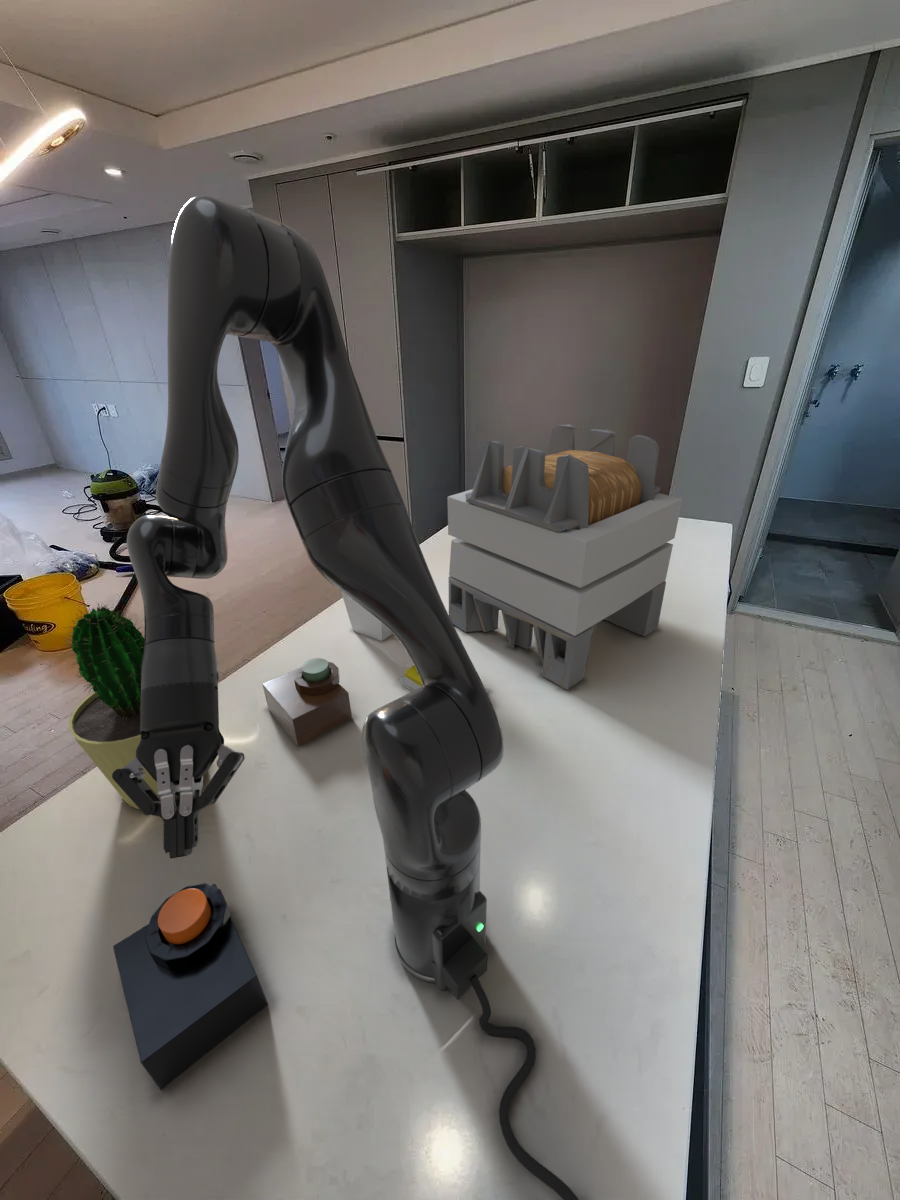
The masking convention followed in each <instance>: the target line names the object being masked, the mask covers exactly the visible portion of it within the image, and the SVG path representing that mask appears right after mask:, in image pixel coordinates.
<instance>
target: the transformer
mask: <svg viewBox="0 0 900 1200" xmlns="http://www.w3.org/2000/svg"><path fill="white" fill-rule="evenodd" d="M575 430H577V427H576V426H575V425H572V424H571V423H567V424H566V423H565V424H557V426H555V427H554V428H553V429H552V430H551V433H550V437H549V438H550V439H549V445H548V449H547V450H548V452H547V455H546V453H545V451H544V450H541V449H536V448H532V447H531V448H530V447H527V446H522V445H521V446H516V447H514V448H513V450H512V465H507V466H504V461H505V459H504V457H505V445H504V443H503V442H502V441H499V440H490V441H482V442H481V443H480V444H479V445H478V448H477V460H476V461H477V464H476V465H477V466H476V475H477V476H476V480H475V482H474V485H473V488H471V489H469V490H465V491H462V492H458V493H455V494H452V495H449V496H447V497H446V498H447V535H449V536H451V537H453V539H452V540H451V542H450V556H449V571H448V615H449V617H450V619H451V621H452V623H453V625H454V627H457V628H458V629H460V630H461V631H463V632H464V633H469V632H470V633H471V632H483V633H488V632H491V631H496V630H497V629H498V628H499V614H500V613H499V612H500V611H501V615H502V620H503V624H504V627H505V637H506V639H507V640H508V644H509V647H510V648H515V645H517V646H519V647H521V648H523V649H526V650H527V649H529V648H531V647H532V645H533V632H534V638H535V642H536V643H535V644H536V647H537V653H538V658H539V664H541V665H542V670H541V677H543V678H545V679H547V680H548V681H550V682H552V683H554V684H555V685H558V686H559V687H560V688H562V689H563V690H567V691H568V690H571V689H573V688H574V685H576V684H578V683H580V682H582V681H583V680H584V679H585V678H584V677H585V673H586V666H587V662H588V657H589V652H590V647H591V641H592V637H593V632H594V627H593V626H594V625H596V624H598V623H600V622H601V621H603V620H604V621H607V622H609V623H612V624H614V625H616V626H619V627H621V628H623V629H625V630H628V631H630V632H632V633H634V634H637V635H639V636H641V637H646V636H647V635H650V634H651V633H652V632H654V631H656V630H659V629H658V628H659V624H660V618H661V613H662V607H663V603H664V602H663V601H664V596H665V590H666V584H667V581H666V580H667V575H668V570H669V566H670V561H671V557H672V551H673V547H674V543H670V541H672V540H673V539H675V538H676V533H677V528H678V523H679V519H680V515H681V509H682V503H683V498H681V497H678V496H672V495H667V494H665V493H659V492H660V491H661V487H660V486H658V485H655V481H656V480H655V479H656V474H657V473H656V472H657V467H658V460H659V455H660V446H659V443H658V442H657V440H656V439H654V438H651V437H650V436H645V435H643V434H637V435H633V436H631V437H630V438H629V442H628V449H627V454H626V460H625V459H624V458H621V457H617V456H615V444H616V443H615V442H616V437H618V433H617V432H615V431H612V430H610V429H608V428H605V429H598V428H597V429H596V428H592V429H588V430H587V432H586V439H585V446H584V450H577V449H576V444H575V443H576V441H575V439H576V438H575Z"/></svg>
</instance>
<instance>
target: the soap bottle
mask: <svg viewBox="0 0 900 1200" xmlns="http://www.w3.org/2000/svg"><path fill="white" fill-rule="evenodd" d="M340 592H341V591H340ZM341 596H342V599H343V603H344V606H345V609H346V613H347V616H348V619H349V623H350V626H351V629H352V631H354V632H355V633H359V634H361V635H364V636H367V637H370V638H372V639H374V640H378V641H379V642H383V641H384V640H386V639H387V638H388V637H390V636H391V635H393V633H392V632H391V631H390V630H389V629H388V628H387V627H386V626H385V625H384V624H383V623H382V622H381V621H379V620H378V619H377V618H376V617H374V616H373V615H372V614H371V613H369V612H368V611H367V610H365V609H364V608H363V607H361V606H360V605H358V604H357V603H356V602H354V601H353V600H352V599H350V598H349V597H348V596H346V595H345V594H344V593H342V592H341Z"/></svg>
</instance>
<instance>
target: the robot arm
mask: <svg viewBox="0 0 900 1200" xmlns="http://www.w3.org/2000/svg"><path fill="white" fill-rule="evenodd" d="M170 243H171V244H170V250H169V259H168V277H167V278H168V280H167V281H168V282H167V345H166V346H167V421H166V430H165V439H164V444H163V449H162V454H161V459H160V464H159V471H158V476H157V481H156V486H155V497H156V502H157V504H158V506H159V507H160V508H161V510H162V511H163V512H164V513H166V514H167V515H168V516H165V515H158V514H146V515H142V516H140V517H139V518H137V519H136V520H135V521H134V522H133V523H132V524H131V525H130V527H129V529H128V532H127V534H126V535H127V536H126V546H127V553H128V556H129V560H130V563H131V567H132V569H133V571H134V574H135V577H136V580H137V584H138V587H139V590H140V594H141V598H142V599H141V600H142V605H143V612H144V614H143V616H144V618H143V619H144V635H143V636H144V654H143V659H142V666H141V712H140V732H141V740H140V743H139V745H138V747H137V749H136V757H135V758H134V759H133V760H132V761H131V762H129V763H128V764H127V765H126V766H125V767H124V768H122V769H117V770H115V771H114V772H113V774H112V778H113V780H114V781H115V782H116V783H117V784H118V785H119V786H120V787H121V789H122V790H123V791H124V792H125V793H126V794H127V795H128V796H129V798H130V799H131V800H132V801H133V802H134V803H135V804H136V805H137V806H138V808H139V809H138V810H140V812H142V813H143V814H144V815H145V816H153V817H159V818H161V820H162V822H163V850H164V853H165V854H168V855H169V859H178V858H183V857H187V856H189V855H191V854H192V853H193V849H194V848H196V847H198V843H199V814H200V812H201V810H203V809H205V808H206V807H208V806H211V805H214V804H215V803H216V802H217V801H218V799H219V798H220V796H221V795H222V793H223V792H224V790H225V789H226V787H227V786H228V784H229V783H230V782H231V780H232V778H233V777H234V776H235V774H236V773H237V771H238V770H239V768H240V767H241V765H242V764H243V762H244V761H245V756H246V755H245V754H244V753H243V752H241V751H236V750H234V749H232V748H231V747H229V746H228V745H226V744H225V738H224V736H223V734H222V733H221V731H220V713H219V712H220V711H219V710H220V709H219V708H220V707H219V681H220V677H219V676H220V673H219V671H218V668H219V667H218V658H217V654H216V647H215V646H216V645H215V614H214V613H215V612H214V611H215V610H214V605H213V602H212V599H211V598H209V596H206V595H204V594H202V593H199V592H196V591H193V590H189V589H186V588H183V587H180V586H178V585H176V584H175V583H173V582H172V581H171V580H170V579H169V578H182V579H183V578H184V579H199V580H206V579H212V578H214V577H216V576H217V575H219V574H221V572H222V571H223V570H224V568H225V567H226V565H227V562H228V557H229V549H228V548H229V547H228V540H227V533H226V532H227V531H226V512H227V505H228V502H229V497H230V493H231V491H232V487H233V484H234V480H235V478H236V475H237V474H236V473H237V470H238V465H239V456H240V455H239V451H240V450H239V442H238V437H237V434H236V430H235V427H234V425H233V422H232V419H231V417H230V415H229V411H228V409H227V406H226V404H225V401H224V398H223V395H222V392H221V388H220V385H219V379H218V365H219V358H220V355H221V350H222V347H223V344H224V341H225V339H226V336H227V335H230V336H233V337H234V336H235V337H240V338H245V339H252V340H256V341H261V342H268V343H269V344H270V345H272V347H273V348H274V350H275V351H276V353H277V354H278V356H279V359H280V361H281V364H282V366H283V368H284V371H285V374H286V376H287V379H288V383H289V386H290V389H291V394H292V398H293V399H292V400H293V410H292V417H291V422H290V427H289V432H288V436H287V441H286V444H285V450H284V454H283V455H284V456H283V461H282V469H281V485H282V491H283V496H284V499H285V503H286V505H287V508H288V510H289V512H290V515H291V517H292V520H293V523H294V526H295V527H296V530H297V533H298V536H299V539H300V540H301V543H302V546H303V549H304V551H305V553H306V556H307V558H308V559H309V561H310V562H311V564H312V566H313V568H315V570H316V571H317V572H318V573H319V574H320V575H322V577H323V578H324V579H325V580H327V581H328V582H329V583H330V584H331V585H333V587H335V588H336V589H337V590H338V591H340V592H342V593H344V594H345V595H346V596H348V597H349V598H350V599H352V600H353V601H354V602H356V603H357V604H358V605H360V606H361V607H363V608H364V609H365V610H367V611H368V612H369V613H371V614H372V615H373V616H374V617H376V618H377V619H378V620H379V621H381V622H382V623H383V624H384V625H385V626H386V627H387V628H388V629H389V630H390V631H391V632H392V635H394V636H395V638H397V640H398V641H399V642H400V644H401V645H402V646H403V648H404V650H405V651H406V653H407V654H408V656H409V658H410V659H411V661H412V663H413V666H414V665H415V667H416V669H417V671H418V673H419V675H420V678H421V680H422V683H423V687H421V688H419V689H417V690H415V691H413V692H412V691H410V692H409V693H406V694H405V695H403V696H401V697H398V698H396V699H394V700H392V701H391V702H388V703H386V704H384V705H382V706H380V707H378V708H376V709H374V710H373V711H372V712H370V713H369V714H368V715H367V716H366V718H365V720H364V722H363V725H362V733H361V741H362V748H363V754H364V760H365V764H366V768H367V773H368V777H369V783H370V787H371V792H372V798H373V804H374V809H375V814H376V819H377V822H378V826H379V828H380V832H381V835H382V841H383V849H384V856H385V864H386V873H387V874H386V875H387V881H388V890H389V899H390V905H391V914H392V915H391V916H392V922H393V930H394V945H395V950H396V954H397V956H398V959H399V961H400V963H401V965H402V966H403V967H404V969H405V970H406V971H407V972H408V973H410V974H411V975H412V976H413V977H415V978H417V979H419V980H420V981H423V982H427V983H434V984H435V985H436V986H437V987H438V988H439V990H440V991H442V992H443V991H446V989H447V988H448V989H449V991H450V993H452V995H453V996H454V998H455V999H456V1000H457V1001H459V1000H460V998H461V997H463V996H464V995H465V994H466V993H467V991H469V990H470V989H471V988H473V990H474V993H475V996H477V999H478V1001H479V1004H480V1006H481V1011H482V1013H481V1014H480V1017H479V1020H478V1021H479V1022H478V1023H479V1027H480V1029H481V1030H482V1031H483V1032H484V1033H486V1034H487V1035H489V1036H492V1037H498V1038H516V1039H520V1040H521V1041H522V1042H523V1043H524V1045H525V1048H526V1057H525V1061H524V1063H523V1064H522V1066H521V1067H520V1068H519V1070H518V1071H517V1073H516V1074H515V1075H514V1077H513V1078H512V1079H511V1080H510V1082H509V1083H508V1085H507V1086H506V1088H505V1090H504V1092H503V1094H502V1095H501V1096H502V1097H501V1099H500V1102H499V1109H498V1117H499V1118H498V1119H499V1125H500V1129H501V1133H502V1136H503V1139H504V1141H505V1143H506V1145H507V1147H508V1149H509V1150H510V1152H511V1153H512V1155H513V1156H514V1157H515V1158H516V1160H517V1161H518V1162H519V1163H520V1164H521V1165H522V1166H523V1167H524V1168H525V1169H526V1170H527V1171H529V1173H531V1174H532V1175H534V1177H536V1179H538V1180H540V1181H541V1182H542V1183H543V1184H545V1185H546V1186H547V1187H549V1188H550V1189H551V1190H552V1191H554V1192H555V1193H556V1194H557V1196H559V1197H560V1199H562V1200H579V1197H578V1196H577V1195H576V1194H575V1193H574V1191H573V1190H572V1189H571V1188H570V1186H568V1185H567V1184H566V1183H565V1182H564V1181H563V1180H562V1179H560V1177H558V1176H557V1175H556V1174H554V1173H553V1172H552V1171H551V1170H549V1169H548V1168H547V1167H545V1166H544V1165H543V1164H541V1162H539V1161H538V1160H537V1159H535V1157H533V1156H531V1154H529V1152H527V1151H526V1150H525V1149H524V1147H523V1146H522V1145H521V1144H520V1143H519V1141H518V1139H517V1138H516V1135H515V1133H514V1132H513V1130H512V1126H511V1122H510V1118H509V1117H510V1115H509V1109H510V1105H511V1103H512V1100H513V1098H514V1097H515V1095H516V1093H517V1092H518V1090H519V1089H520V1088H521V1087H522V1085H523V1084H524V1083H525V1081H526V1080H527V1078H528V1077H529V1076H530V1074H531V1072H532V1070H533V1068H534V1066H535V1061H536V1059H537V1051H536V1050H537V1049H536V1045H535V1042H534V1039H533V1038H532V1036H531V1034H530V1032H528V1031H527V1030H526V1029H524V1028H521V1027H518V1026H507V1025H504V1026H500V1025H495V1024H494V1025H493V1024H492V1023H490V1022H489V1021H490V1019H491V1016H492V1009H491V1005H490V1002H489V998H488V996H487V994H486V992H485V990H484V987H483V986H482V984H481V982H480V979H481V977H483V975H484V974H485V973H487V971H488V961H489V960H488V959H489V955H488V953H487V952H486V940H487V939H486V938H487V937H486V935H487V904H488V899H487V897H486V896H485V895H484V893H483V892H482V891H481V854H482V853H481V850H482V848H481V847H482V846H481V845H482V821H481V820H482V817H481V813H480V809H479V807H478V805H477V803H476V801H475V799H474V798H473V795H471V794H470V793H469V792H468V789H470V788H471V787H472V786H475V784H476V783H478V782H480V781H481V780H483V779H485V778H486V777H487V776H488V775H490V774H491V773H492V772H493V771H495V770H496V769H497V768H498V767H499V766H500V764H501V762H502V761H503V758H504V752H505V740H504V737H503V731H502V727H501V724H500V721H499V718H498V715H497V713H496V710H495V708H494V705H493V703H492V701H491V698H490V696H489V693H488V694H487V692H486V690H485V688H486V687H485V686H484V684H483V682H482V680H481V677H480V675H479V674H478V671H477V670H476V668H475V667H476V666H475V665H474V663H473V661H472V660H471V658H470V655H469V654H468V652H467V649H466V648H465V646H464V644H463V642H462V640H461V638H460V635H459V634H458V631H457V629H456V626H455V625H454V624H453V623H452V621H451V619H450V617H449V612H448V611H447V609H446V606H445V604H444V601H443V600H442V598H441V595H440V593H439V590H438V588H437V586H436V583H435V580H434V578H433V576H432V573H431V571H430V569H429V566H428V564H427V561H426V558H425V555H424V553H423V551H422V548H421V546H420V544H419V541H418V537H417V535H416V533H415V530H414V527H413V525H412V521H411V519H410V515H409V512H408V510H407V507H406V504H405V502H404V498H402V494H401V491H400V489H399V487H398V484H397V481H396V480H395V476H394V474H393V472H392V469H391V467H390V464H389V463H388V460H387V458H386V456H385V454H384V451H383V449H382V447H381V444H380V442H379V439H378V437H377V434H376V432H375V429H374V426H373V423H372V420H371V417H370V414H369V412H368V409H367V406H366V403H365V401H364V398H363V395H362V393H361V390H360V388H359V384H358V382H357V379H356V376H355V374H354V370H353V368H352V365H351V362H350V358H349V355H348V351H347V348H346V347H347V346H346V344H345V341H344V337H343V334H342V329H341V327H340V322H339V319H338V315H337V312H336V308H335V305H334V301H333V297H332V295H331V291H330V287H329V283H328V281H327V279H326V275H325V273H324V269H323V267H322V264H321V261H320V259H319V258H318V256H317V254H316V252H315V249H314V248H313V247H312V245H311V243H310V242H309V241H308V240H307V239H306V237H304V236H303V235H302V233H300V232H298V231H297V230H296V229H294V228H293V227H291V226H289V225H287V224H284V223H283V222H280V221H279V220H275V219H273V218H270V217H268V216H265V215H263V214H260V213H259V212H255V211H252V210H250V209H248V208H244V207H242V206H241V205H237V204H234V203H232V202H230V201H227V200H224V199H221V198H219V197H215V196H211V195H206V194H201V195H197V196H194V197H191V198H190V199H189V200H188V201H187V202H186V203H185V204H184V205H183V207H182V208H181V209H180V211H179V213H178V216H177V218H176V220H175V223H174V227H173V230H172V235H171V242H170ZM342 593H341V594H342ZM217 757H218V758H217ZM216 758H217V760H216ZM215 760H216V766H217V767H218V769H217V770H216V772H215V773H214V774H213V776H212V778H211V779H210V780H209V782H208V783H207V785H206V786H205V788H204V789H203V787H204V777H203V775H204V776H205V775H206V774H207V772H208V771H209V769H210V768H211V767H212V765H213V764H214V761H215ZM143 767H144V768H145V769H146V770H147V771H148V773H149V774H150V775H151V776H152V778H153V779H154V780H155V781H157V786H158V795H159V796H160V797H159V796H158V795H157V794H156V793H155V792H154V791H153V789H152V788H151V787H150V786H149V785H148V784H147V783H146V782H145V781H144V780H143V779H144V777H145V772H144V770H143ZM202 789H203V790H202Z"/></svg>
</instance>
